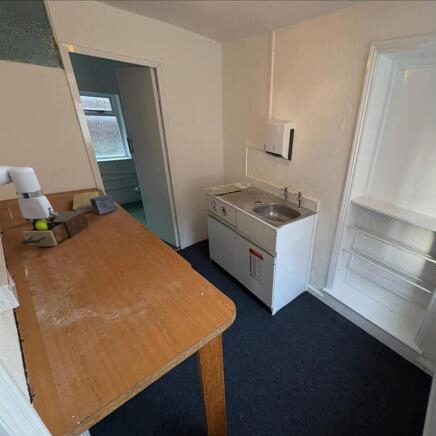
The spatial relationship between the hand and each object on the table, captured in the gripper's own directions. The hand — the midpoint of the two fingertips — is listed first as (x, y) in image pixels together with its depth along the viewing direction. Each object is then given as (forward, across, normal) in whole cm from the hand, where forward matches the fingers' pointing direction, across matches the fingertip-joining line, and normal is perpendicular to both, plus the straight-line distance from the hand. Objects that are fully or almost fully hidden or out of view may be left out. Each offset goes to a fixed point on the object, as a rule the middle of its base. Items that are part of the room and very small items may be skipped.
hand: (45, 229), depth 114 cm
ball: (+1, 0, 0) cm, 1 cm away
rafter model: (+8, -15, +57) cm, 59 cm away
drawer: (+7, 0, -1) cm, 7 cm away
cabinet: (+7, 0, +12) cm, 14 cm away
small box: (+8, +4, +41) cm, 42 cm away
